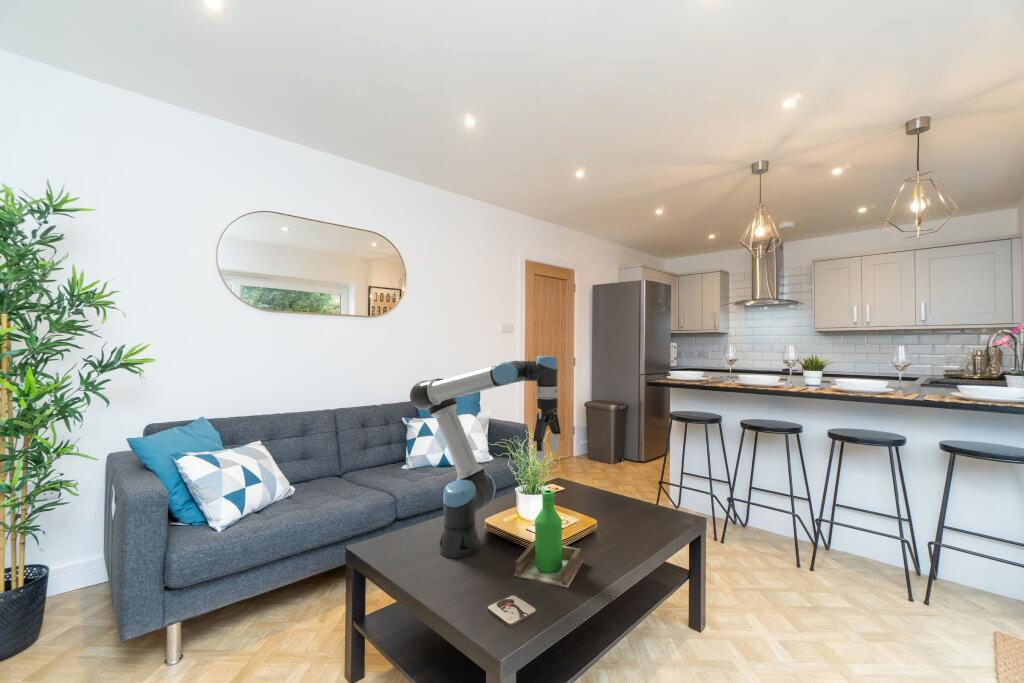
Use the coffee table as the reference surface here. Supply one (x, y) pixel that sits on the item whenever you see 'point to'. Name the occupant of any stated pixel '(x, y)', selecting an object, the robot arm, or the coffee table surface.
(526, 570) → the u rest
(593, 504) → the coffee table surface
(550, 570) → the bottle
